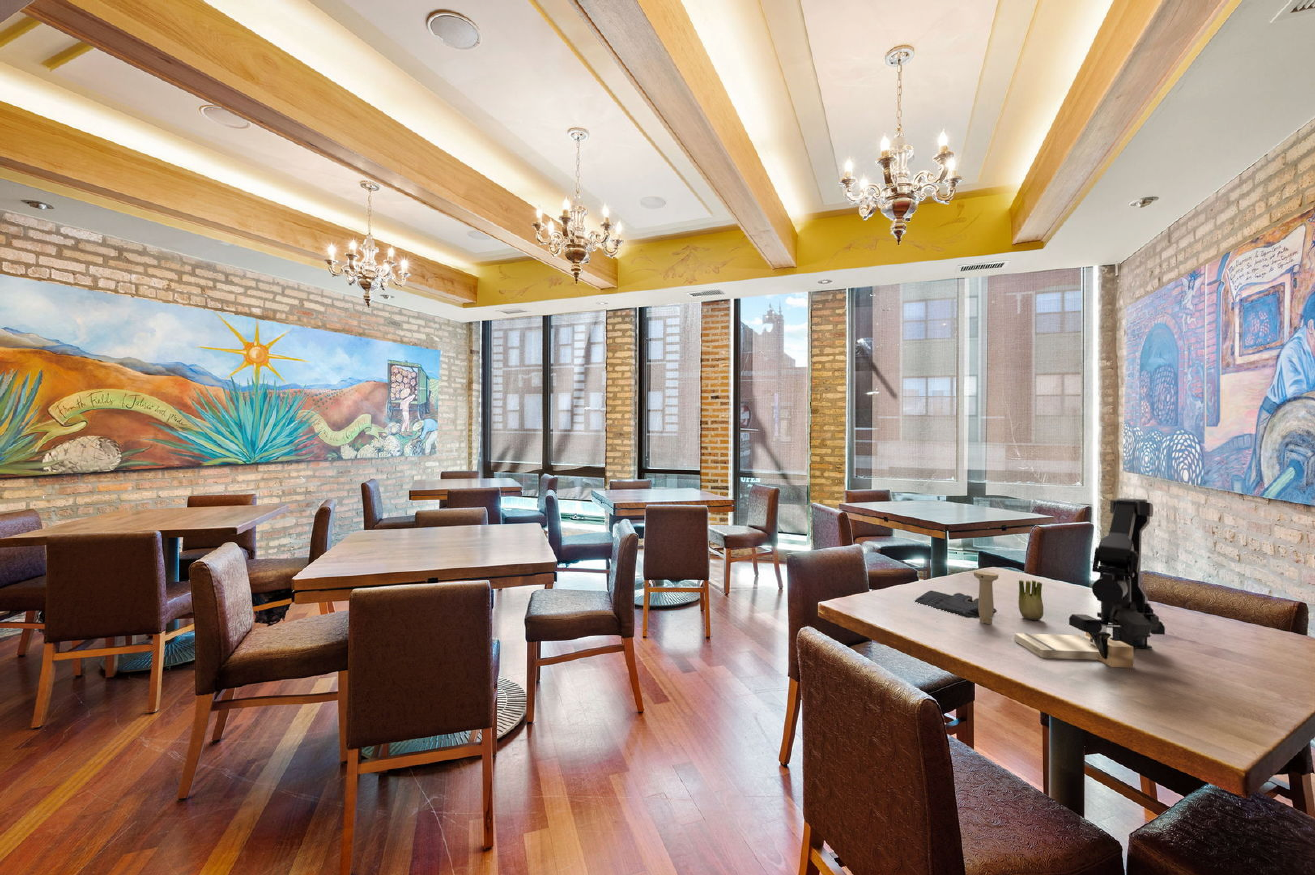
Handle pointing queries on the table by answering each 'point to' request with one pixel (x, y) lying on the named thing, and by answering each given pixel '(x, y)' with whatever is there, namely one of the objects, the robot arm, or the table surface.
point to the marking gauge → (1117, 654)
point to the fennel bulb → (1030, 600)
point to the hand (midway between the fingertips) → (1116, 659)
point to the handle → (985, 595)
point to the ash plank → (1059, 646)
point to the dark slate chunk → (951, 603)
